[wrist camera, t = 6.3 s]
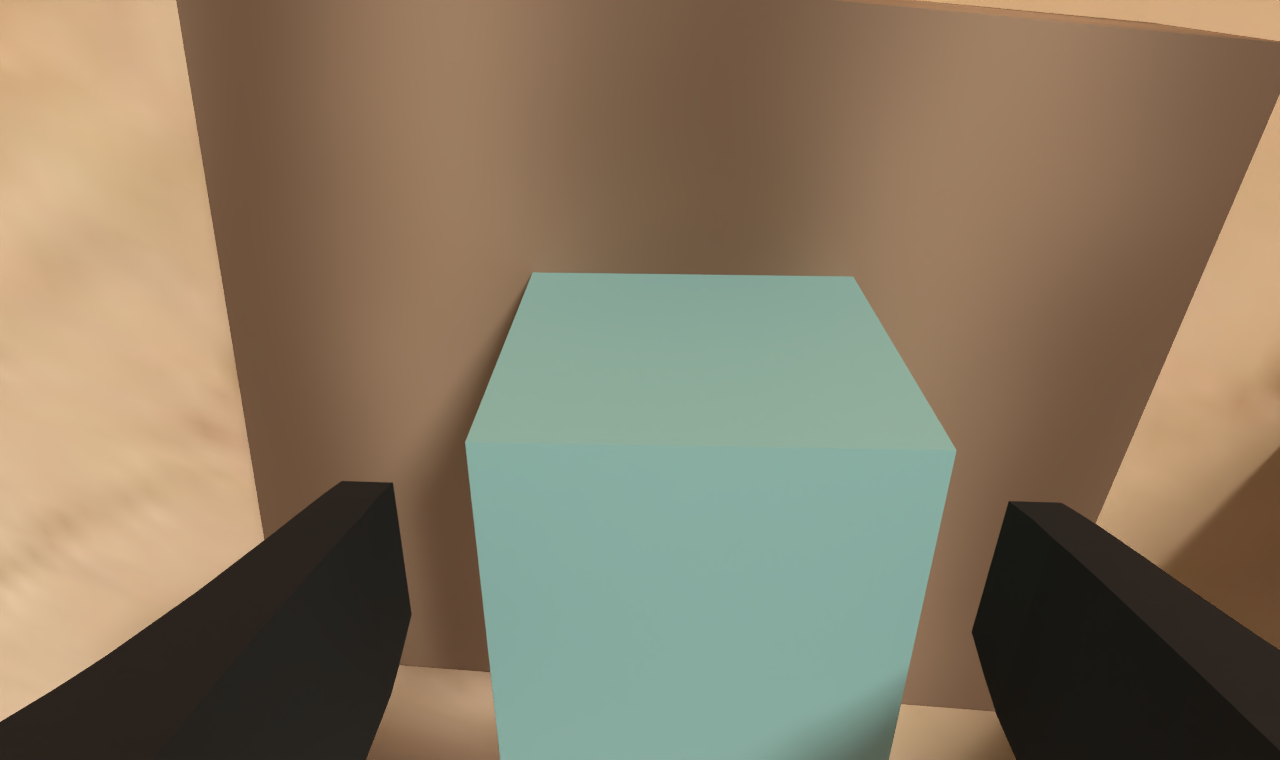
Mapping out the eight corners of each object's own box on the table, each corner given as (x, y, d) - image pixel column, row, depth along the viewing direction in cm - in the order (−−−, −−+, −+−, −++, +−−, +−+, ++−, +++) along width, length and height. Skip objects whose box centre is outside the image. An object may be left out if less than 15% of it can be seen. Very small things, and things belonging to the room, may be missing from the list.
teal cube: (547, 528, 14) (501, 767, 10) (532, 272, 12) (464, 441, 8) (818, 533, 14) (885, 776, 10) (853, 276, 12) (956, 450, 8)
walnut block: (353, 524, 19) (283, 656, 15) (296, -59, 13) (166, -63, 10) (948, 573, 19) (1014, 713, 16) (1134, 20, 14) (1301, 44, 10)
